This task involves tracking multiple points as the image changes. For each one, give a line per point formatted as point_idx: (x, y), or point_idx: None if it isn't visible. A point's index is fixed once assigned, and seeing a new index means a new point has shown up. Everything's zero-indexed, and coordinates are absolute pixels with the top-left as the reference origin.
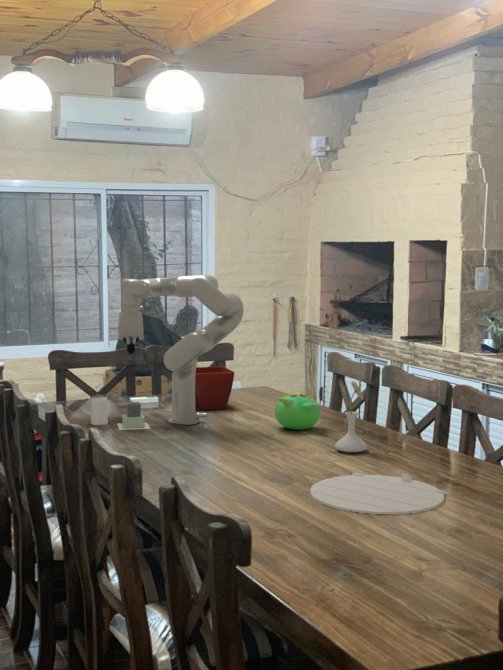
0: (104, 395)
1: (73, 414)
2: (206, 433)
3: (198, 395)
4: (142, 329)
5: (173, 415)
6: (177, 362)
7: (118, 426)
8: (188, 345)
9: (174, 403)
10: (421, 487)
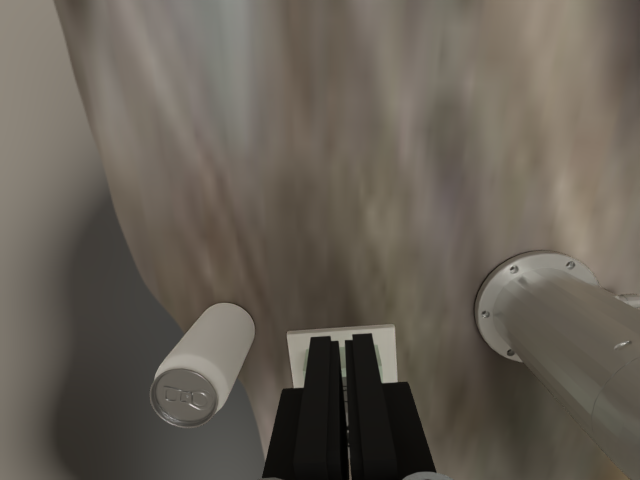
0: (206, 380)
1: (97, 107)
2: (570, 466)
3: None
4: None
5: (505, 340)
6: None
7: (294, 380)
8: None
9: (537, 376)
10: None
